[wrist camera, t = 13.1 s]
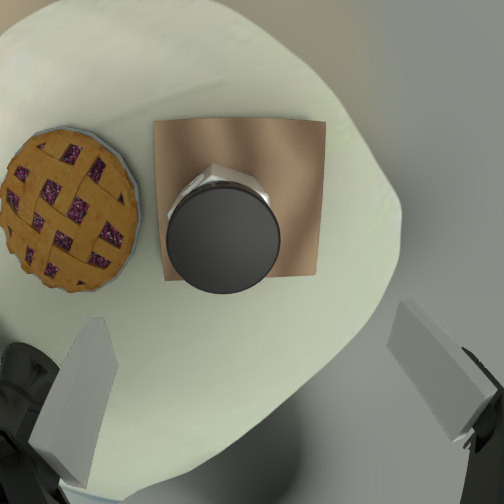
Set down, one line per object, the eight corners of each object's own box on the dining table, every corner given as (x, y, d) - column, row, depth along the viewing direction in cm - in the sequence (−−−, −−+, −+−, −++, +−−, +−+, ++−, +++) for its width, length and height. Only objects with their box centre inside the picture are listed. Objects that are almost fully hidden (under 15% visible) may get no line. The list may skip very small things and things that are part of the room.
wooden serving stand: (170, 263, 39) (164, 280, 35) (162, 122, 32) (153, 121, 28) (304, 258, 41) (315, 275, 37) (312, 122, 34) (325, 121, 30)
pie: (113, 305, 41) (104, 325, 37) (1, 241, 35) (-16, 253, 30) (175, 169, 35) (169, 175, 31) (41, 103, 29) (21, 102, 24)
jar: (228, 147, 30) (235, 156, 19) (277, 205, 33) (308, 245, 22) (164, 203, 31) (137, 242, 20) (214, 256, 34) (214, 317, 23)
